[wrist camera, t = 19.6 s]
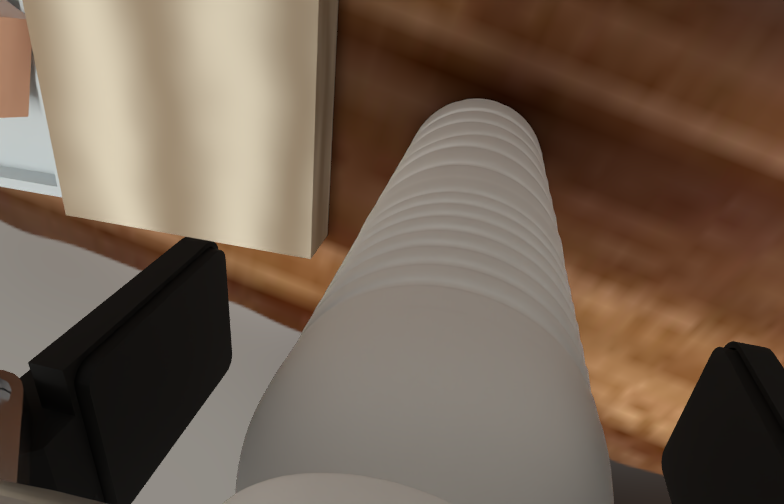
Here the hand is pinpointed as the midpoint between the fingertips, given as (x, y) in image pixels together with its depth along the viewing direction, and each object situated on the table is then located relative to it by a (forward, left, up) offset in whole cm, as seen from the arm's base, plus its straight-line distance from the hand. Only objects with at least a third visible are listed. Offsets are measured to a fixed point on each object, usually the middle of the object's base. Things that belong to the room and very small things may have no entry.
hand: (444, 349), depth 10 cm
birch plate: (+14, +1, -18) cm, 23 cm away
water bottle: (0, +1, -18) cm, 18 cm away
